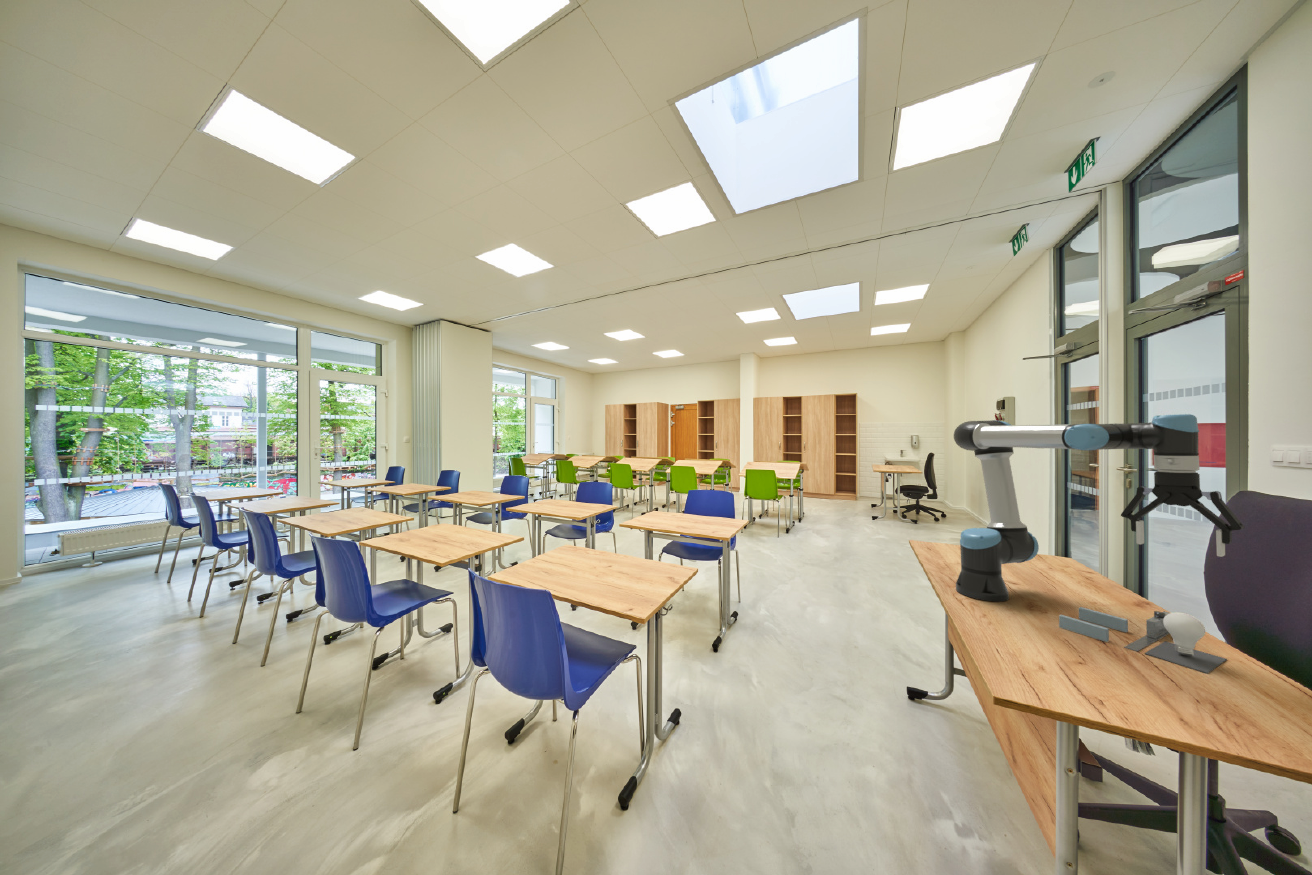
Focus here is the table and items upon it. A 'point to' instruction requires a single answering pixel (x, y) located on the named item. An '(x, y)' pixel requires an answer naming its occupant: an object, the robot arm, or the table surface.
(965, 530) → the robot arm
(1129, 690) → the table surface
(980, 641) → the table surface
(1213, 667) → the mat
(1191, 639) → the light bulb
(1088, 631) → the channel
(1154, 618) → the latch bar
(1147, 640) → the track
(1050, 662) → the table surface
